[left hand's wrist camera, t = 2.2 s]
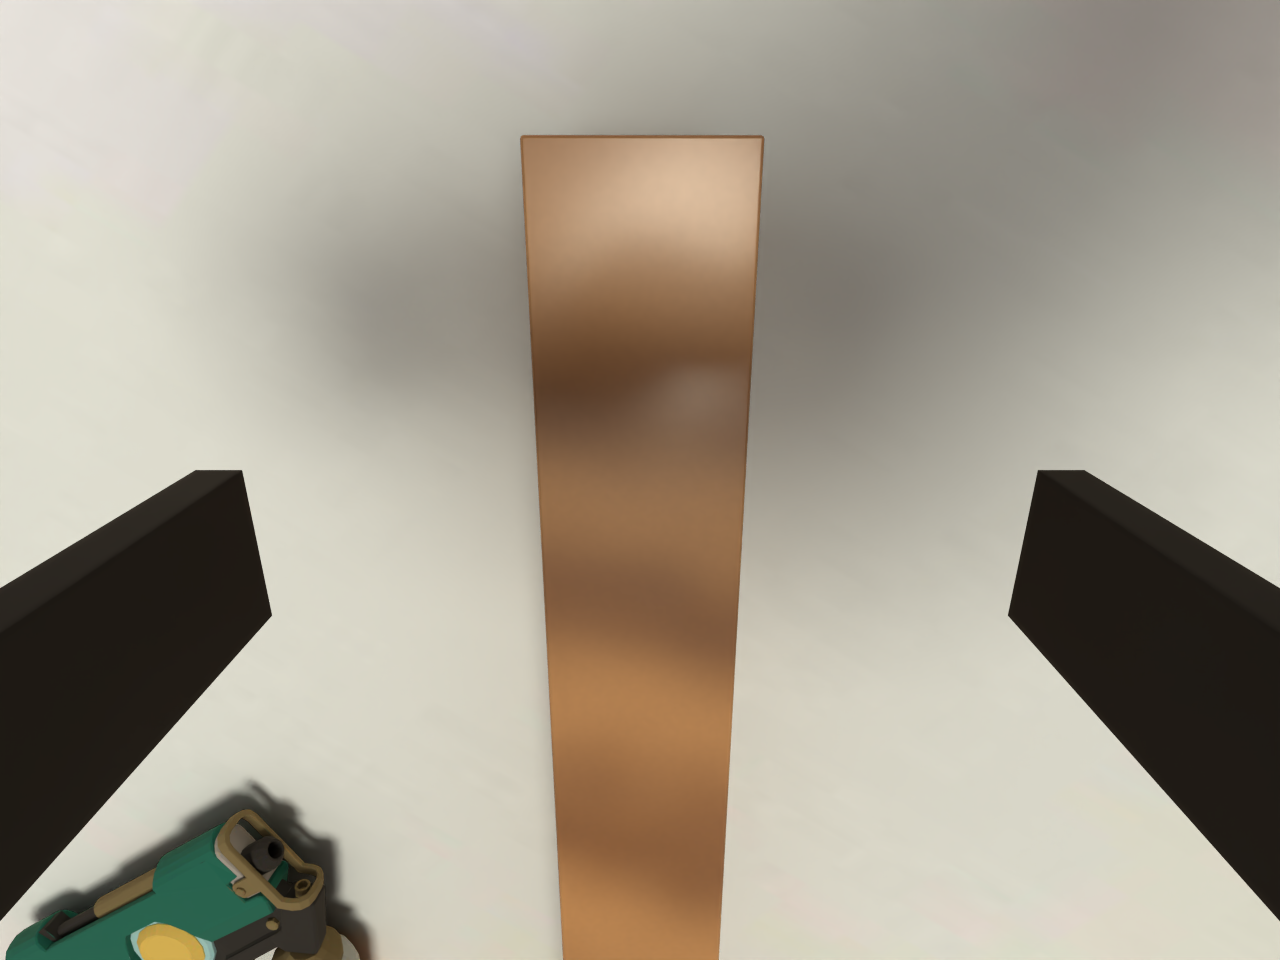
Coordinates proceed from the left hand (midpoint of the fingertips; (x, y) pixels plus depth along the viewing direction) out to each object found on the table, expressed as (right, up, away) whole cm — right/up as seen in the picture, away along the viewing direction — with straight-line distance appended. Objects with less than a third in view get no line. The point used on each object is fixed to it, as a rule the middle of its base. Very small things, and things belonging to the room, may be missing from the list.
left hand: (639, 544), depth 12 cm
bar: (0, -17, +20) cm, 27 cm away
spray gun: (-20, -20, +21) cm, 35 cm away
